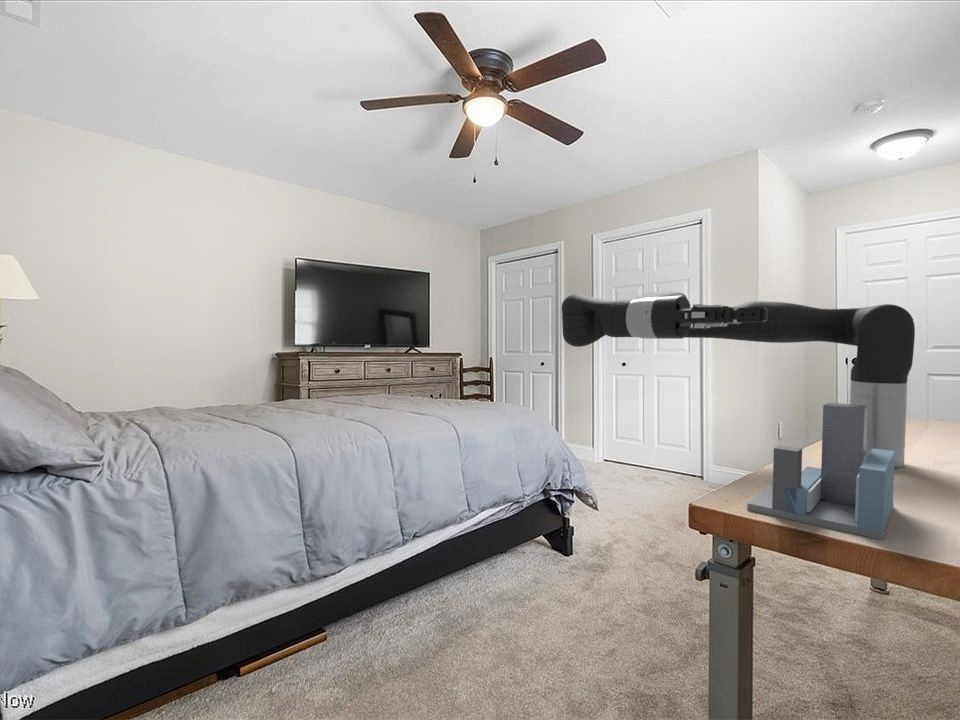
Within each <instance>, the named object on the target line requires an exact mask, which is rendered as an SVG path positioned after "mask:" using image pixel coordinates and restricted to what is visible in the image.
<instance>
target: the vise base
mask: <svg viewBox="0 0 960 720" xmlns="http://www.w3.org/2000/svg"><path fill="white" fill-rule="evenodd" d="M894 460H895V451H890V450H882V449H874V448H873V449H872V451H871V452H870V454H869V455H868V456H867V458H866V459H865V461H864V462H863V464H862V465H861V466H860V469H859V474H858V475H857V477H856V503H855V508H853V507H848V506H843V505H838V504H833V503H827V502H822V501H820V500H819V502H818V503H817V504H816V505H815V507H814V508H813V509H812V510H811V512H807V513H806V515H802V514H797V513H792V512H788V511H783V510H778V509H774V508H772V497H773V482H772V483H771V484H769V485H768V486H766V487H765V488H764V489H763V490H762V491H760V492H759V493H758V494H757V495H755V496H754V497H753V498H752V499H751V500H749V501H748V502H746V503H747V506H746V508H747V511H752V512H755V513H761V514H763V515H764V514H765V515H769V516H774V517H779V518H784V519H787V520H791V521H792V520H793V521H797V522H801V523H805V524H810V525H815V526H819V527H822V528H827V529H833V530H837V531H842V532H846V533H850V534H854V535H860V536H863V537H868V538H872V539H877V540H881V541H883V539H884V537H885V533H886V530H887V527H888V525H889V522H890V519H891V515H892V512H893V509H894V487H895V485H894V482H895V481H894V480H895V468H894Z"/></svg>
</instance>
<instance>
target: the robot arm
mask: <svg viewBox="0 0 960 720" xmlns="http://www.w3.org/2000/svg"><path fill="white" fill-rule="evenodd" d="M912 316H913V315H911V313H910V312H909V311H908V310H906V308H903V307H902V306H899V305H896V304H877V305H870V306H866V307H856V308H855V307H852V308H819V307H812V306H807V305H802V304H796V303H792V302H783V301H767V300H766V301H762V300H760V301H758V300H751V301H747V302H743V303H741V304H739V305H737V306H732V307H731V306H728V305H721V304H711V305H710V304H709V305H708V304H703V303H699V304H698V303H694V304H692V307H691V303H690V301H689V300H688V298H687V296H686V294H685V293H683V292H679V291H671V290H660V291H652V292H648V293H646V294H645V293H644V294H640V295H638V296H634V297H631V298H628V299H621V300H620V299H619V300H611V299H610V300H609V299H602V298H599V297H594V296H590V295H587V294H582V293H581V294H580V293H576V294H575V293H574V294H571V295H568V296H567V297H565V298H564V300H563V302H562V304H561V320H562V321H561V322H562V323H561V324H562V326H561V327H562V337H563V339H564V341H565V342H566V344H567V345H569V346H572V347H575V348H576V347H577V348H581V347H585V346H589V345H591V344H593V343H595V342H597V341H599V340H600V339H602V338H603V337H605V336H607V337H610V338H638V339H647V340H648V339H649V340H650V339H654V340H655V339H663V340H664V339H667V340H669V339H687V338H692V339H696V338H700V339H701V338H702V339H703V338H704V339H720V340H721V339H723V340H733V341H743V342H745V341H746V342H747V341H748V342H758V343H774V344H775V343H776V344H777V343H778V344H783V343H785V344H786V343H787V344H788V343H790V344H791V343H806V342H807V343H808V342H826V343H833V344H842V345H849V346H854V347H857V349H856V350H857V351H856V359H855V363H854V365H852V367H851V369H850V386H849V387H850V390H849V392H850V394H849V404H852V405H866V406H868V416H867V445H866V458H867V456H868V455H869V454H870V452H871V451H872V449H873V448H874V449H882V450H890V451H895V460H894V469H895V468H896V469H897V468H903V467H904V466H905V455H906V454H905V450H906V432H907V431H906V426H907V424H906V423H907V402H908V376H909V373H910V371H911V369H912V367H913V359H914V351H915V350H914V349H915V335H916V334H915V333H916V329H915V321H914V319H913V317H912Z"/></svg>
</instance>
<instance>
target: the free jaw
mask: <svg viewBox="0 0 960 720" xmlns="http://www.w3.org/2000/svg"><path fill="white" fill-rule="evenodd" d="M772 461H773V463H772V468H773V469H772V472H773V473H772V483H773V497H772V508H774V509H778V510H783V511H788V512H792V513H797V514H802V515H806V513H807V512H811V510H812V509H813V508H814V507H815V505H816V504H817V503H818V502H819V500H820V496H821V467H820V468H819V467H813V466H806V467H805V468H804V469H802V467H803V465H802V463H803V447H798V446H797V447H796V446H789V445H783V444H782V445H781V444H778V445H776V446H775V447H773V460H772Z"/></svg>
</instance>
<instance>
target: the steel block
mask: <svg viewBox="0 0 960 720" xmlns="http://www.w3.org/2000/svg"><path fill="white" fill-rule="evenodd" d="M867 416H868V406H866V405H852V404H850V403H838V402H835V403H834V402H827V403H825V404H823V405H822V431H821V432H822V436H821V438H822V439H821V440H822V441H821V464H820V465H821V466H820V468H821V496H820V501H822V502H827V503H833V504H838V505H843V506H848V507H853V508H855V503H856V477H857V475H858V474H859V469H860V466H861V465H862V464H863V462H864V461H865V459H866V445H867Z"/></svg>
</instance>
